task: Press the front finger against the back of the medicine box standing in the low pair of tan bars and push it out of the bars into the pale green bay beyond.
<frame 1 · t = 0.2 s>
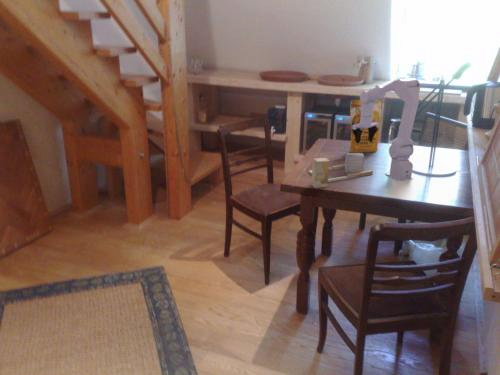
hand: (363, 141, 222), 10 cm above the table, tool pointing down, fingers open, 7 cm apart
pancake mix bag: (362, 151, 240), on the table
medicine box: (353, 171, 210), on the table
skincare box: (319, 186, 192), on the table
pair of tan bars: (342, 173, 207), on the table
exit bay: (327, 174, 204), on the table
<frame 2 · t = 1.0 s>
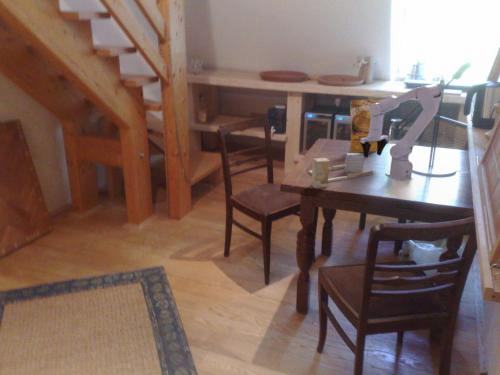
hand: (372, 155, 211), 6 cm above the table, tool pointing down, fingers open, 7 cm apart
nothing on the table moved.
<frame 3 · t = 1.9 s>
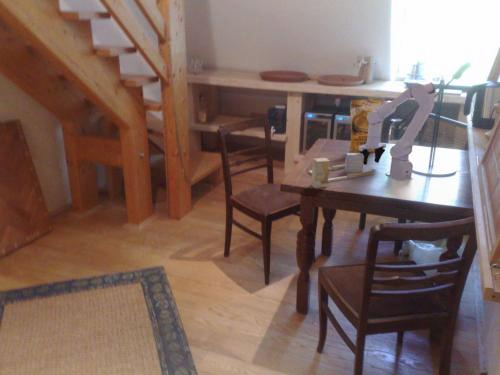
hand: (370, 163, 212), 3 cm above the table, tool pointing down, fingers open, 6 cm apart
medicine box: (353, 171, 210), on the table, touching gripper
everything else where it was.
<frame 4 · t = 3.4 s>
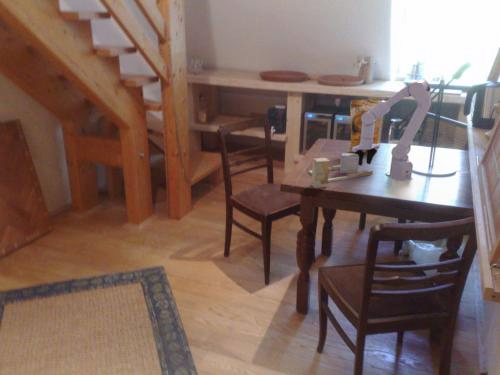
hand: (364, 164, 211), 3 cm above the table, tool pointing down, fingers open, 5 cm apart
medicine box: (348, 172, 209), on the table, touching gripper
everything else where it was.
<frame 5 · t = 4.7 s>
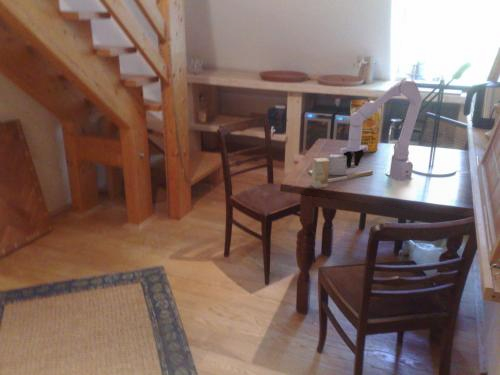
hand: (352, 166, 208), 3 cm above the table, tool pointing down, fingers open, 4 cm apart
medicine box: (336, 173, 207), on the table, touching gripper
everything else where it was.
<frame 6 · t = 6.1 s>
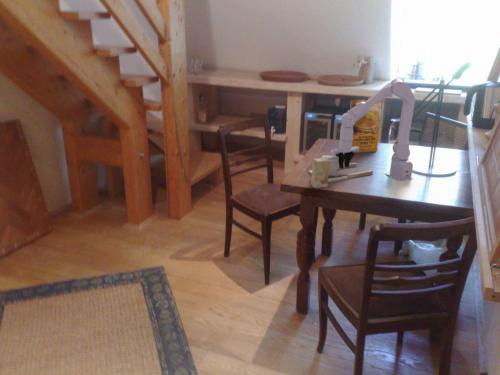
hand: (343, 167, 206), 3 cm above the table, tool pointing down, fingers open, 3 cm apart
medicine box: (328, 174, 205), on the table, touching gripper
everything else where it was.
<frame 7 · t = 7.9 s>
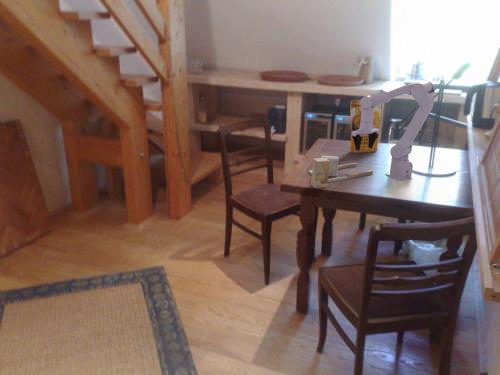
hand: (363, 148, 212), 9 cm above the table, tool pointing down, fingers open, 7 cm apart
medicine box: (328, 175, 205), on the table
everything else where it was.
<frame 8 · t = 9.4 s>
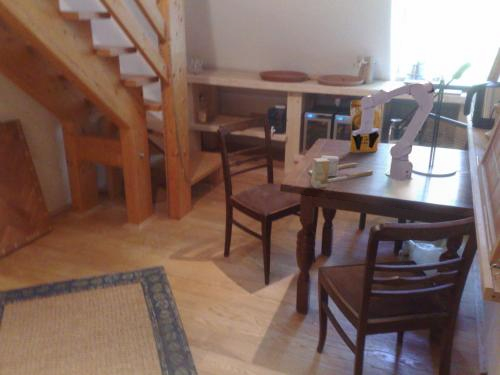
hand: (364, 148, 212), 9 cm above the table, tool pointing down, fingers open, 7 cm apart
nothing on the table moved.
at the end: medicine box inside the target area (1.0 cm from its centre), on the table; medicine box tilted 0°; medicine box moved 13.5 cm from its start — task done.
